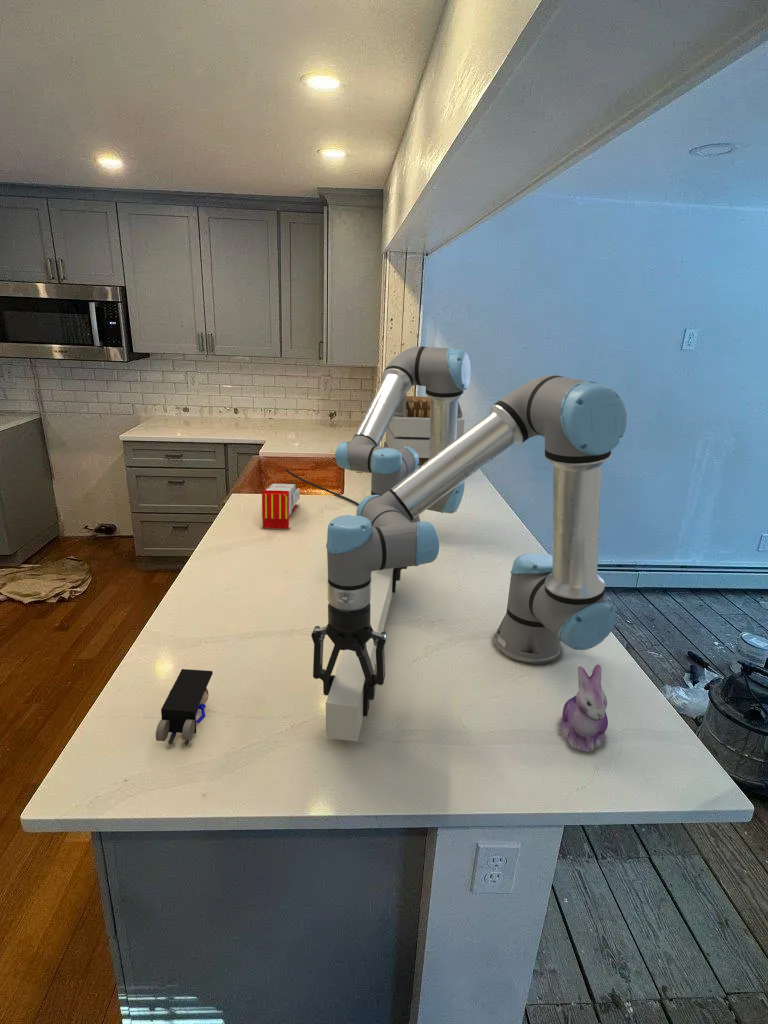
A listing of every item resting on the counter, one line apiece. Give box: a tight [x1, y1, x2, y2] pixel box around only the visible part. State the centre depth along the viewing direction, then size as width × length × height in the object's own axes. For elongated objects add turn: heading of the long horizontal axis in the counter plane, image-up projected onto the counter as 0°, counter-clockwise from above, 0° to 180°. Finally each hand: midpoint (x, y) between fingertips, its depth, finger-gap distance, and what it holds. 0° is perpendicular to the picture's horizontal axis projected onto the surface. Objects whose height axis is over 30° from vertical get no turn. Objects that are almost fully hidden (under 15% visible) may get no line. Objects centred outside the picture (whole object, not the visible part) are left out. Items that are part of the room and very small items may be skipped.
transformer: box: [383, 392, 465, 467], centre depth 268 cm, size 34×33×41 cm
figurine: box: [560, 663, 609, 753], centre depth 105 cm, size 9×10×15 cm
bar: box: [325, 568, 394, 742], centre depth 130 cm, size 64×6×8 cm, turn 173°
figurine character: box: [155, 668, 214, 746], centre depth 105 cm, size 7×8×15 cm
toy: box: [261, 483, 301, 530], centre depth 210 cm, size 12×13×30 cm
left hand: (382, 589), depth 154 cm, fingers closed on bar, 6 cm apart
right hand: (349, 709), depth 108 cm, fingers closed on bar, 6 cm apart
